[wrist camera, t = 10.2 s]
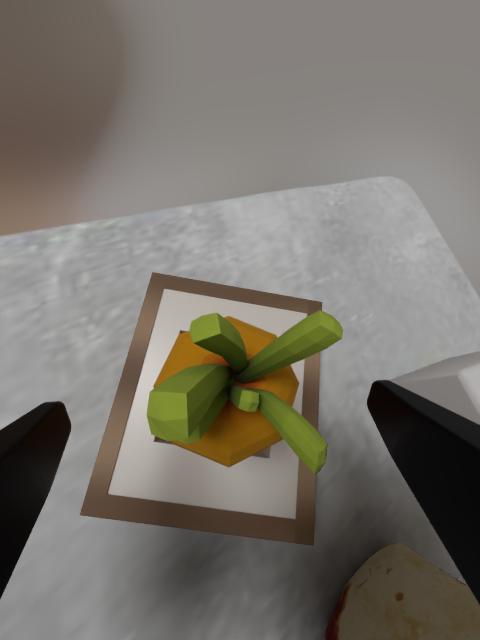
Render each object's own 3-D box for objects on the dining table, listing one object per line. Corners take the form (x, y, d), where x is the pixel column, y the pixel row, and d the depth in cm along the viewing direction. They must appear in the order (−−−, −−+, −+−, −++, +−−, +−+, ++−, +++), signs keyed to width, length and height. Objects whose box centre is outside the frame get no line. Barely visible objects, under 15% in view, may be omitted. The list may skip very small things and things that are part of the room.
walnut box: (293, 519, 17) (313, 545, 13) (106, 493, 16) (79, 515, 13) (305, 318, 21) (322, 302, 18) (161, 294, 21) (152, 272, 18)
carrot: (252, 361, 19) (364, 239, 5) (255, 432, 18) (425, 537, 4) (185, 361, 19) (107, 226, 5) (182, 435, 17) (48, 568, 3)
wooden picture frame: (281, 500, 17) (295, 519, 14) (125, 479, 16) (107, 494, 13) (294, 326, 21) (307, 313, 18) (170, 305, 20) (163, 288, 17)
